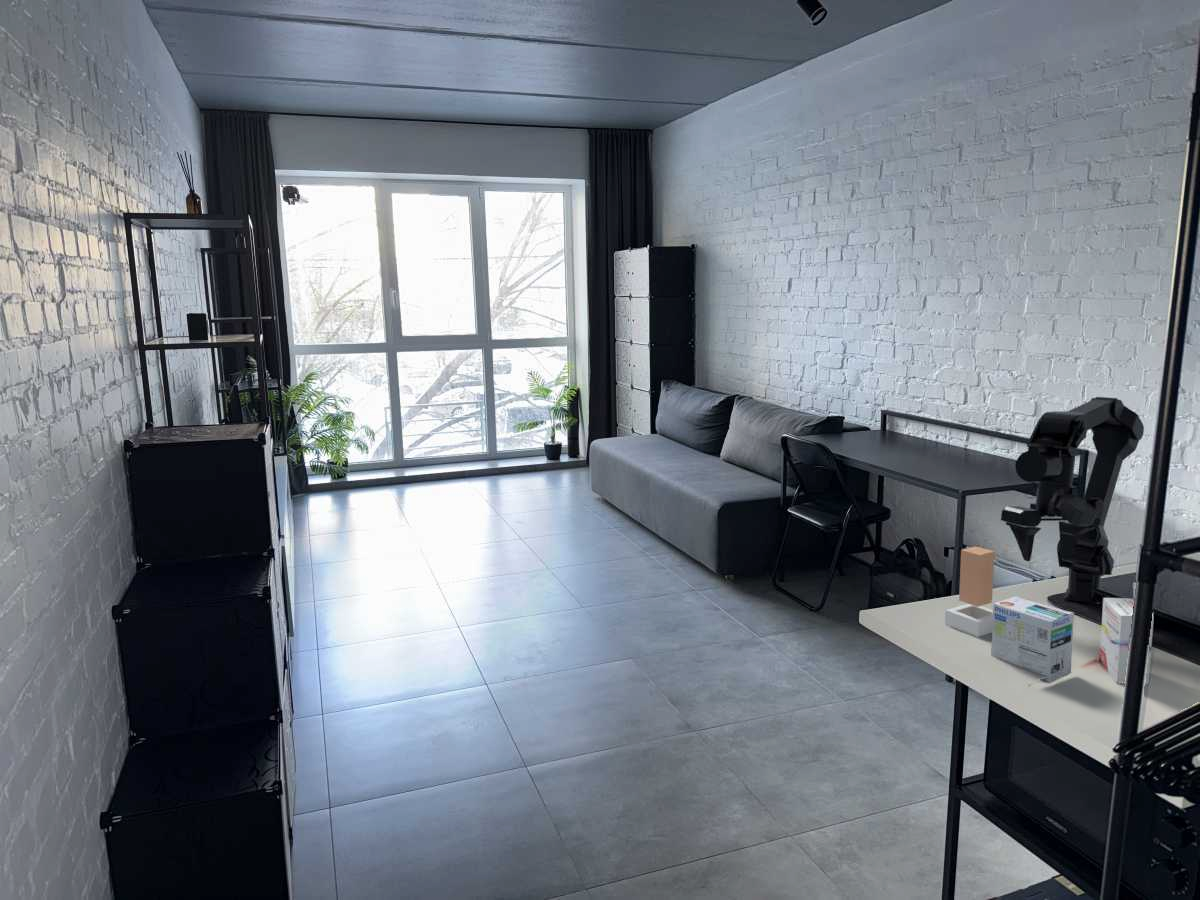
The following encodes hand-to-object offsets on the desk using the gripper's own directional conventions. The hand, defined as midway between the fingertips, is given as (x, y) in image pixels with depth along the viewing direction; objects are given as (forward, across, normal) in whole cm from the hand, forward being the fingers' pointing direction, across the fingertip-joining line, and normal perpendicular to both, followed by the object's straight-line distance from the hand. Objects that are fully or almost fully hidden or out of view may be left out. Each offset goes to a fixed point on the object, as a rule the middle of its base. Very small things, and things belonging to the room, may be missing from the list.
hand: (1046, 560), depth 163 cm
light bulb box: (+14, -17, -16) cm, 27 cm away
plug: (+7, -16, 0) cm, 17 cm away
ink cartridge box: (+14, -5, -23) cm, 27 cm away
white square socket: (+12, -15, 0) cm, 20 cm away
